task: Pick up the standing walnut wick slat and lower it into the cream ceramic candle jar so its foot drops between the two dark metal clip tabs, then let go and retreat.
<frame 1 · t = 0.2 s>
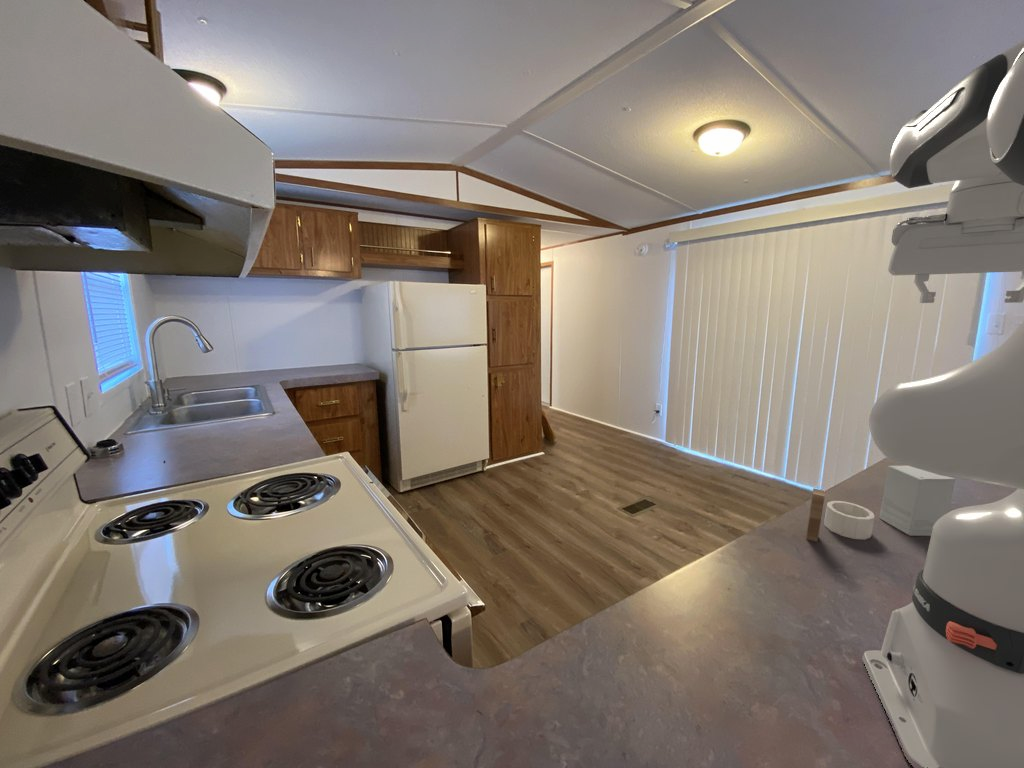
hand: (968, 302, 64), 47 cm above the countertop, fingers open, 8 cm apart
jar: (846, 529, 86), on the countertop
supplement box: (909, 527, 87), on the countertop
wick: (811, 537, 83), on the countertop
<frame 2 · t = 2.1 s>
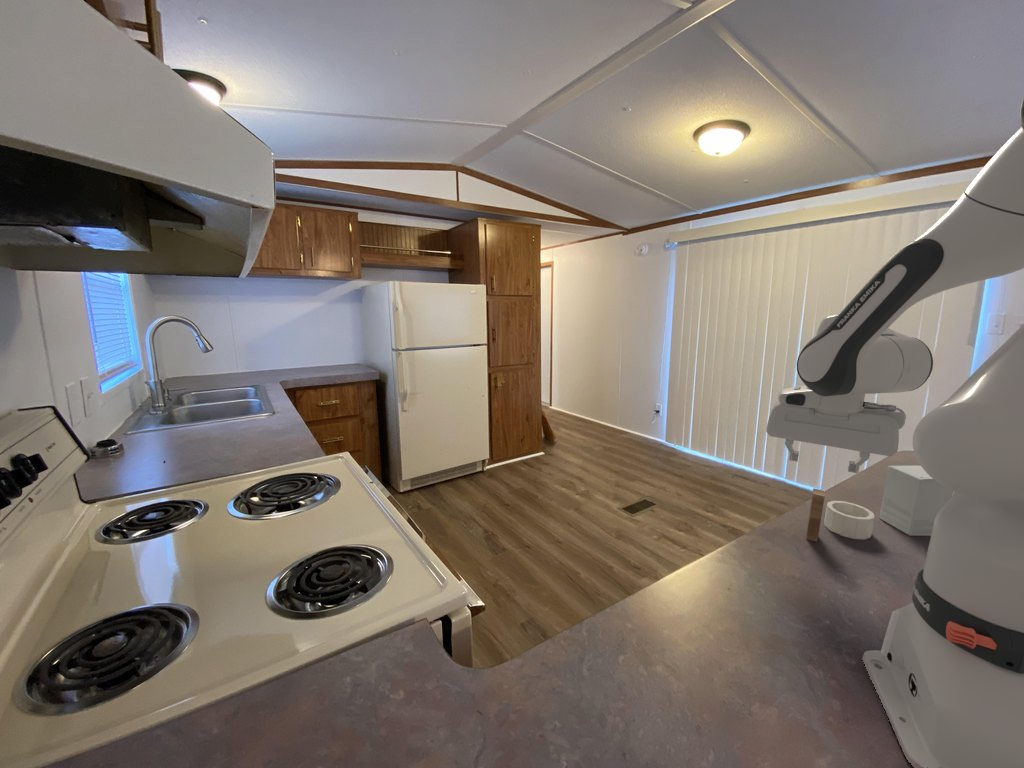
hand: (822, 465, 80), 16 cm above the countertop, fingers open, 8 cm apart
nothing on the countertop moved.
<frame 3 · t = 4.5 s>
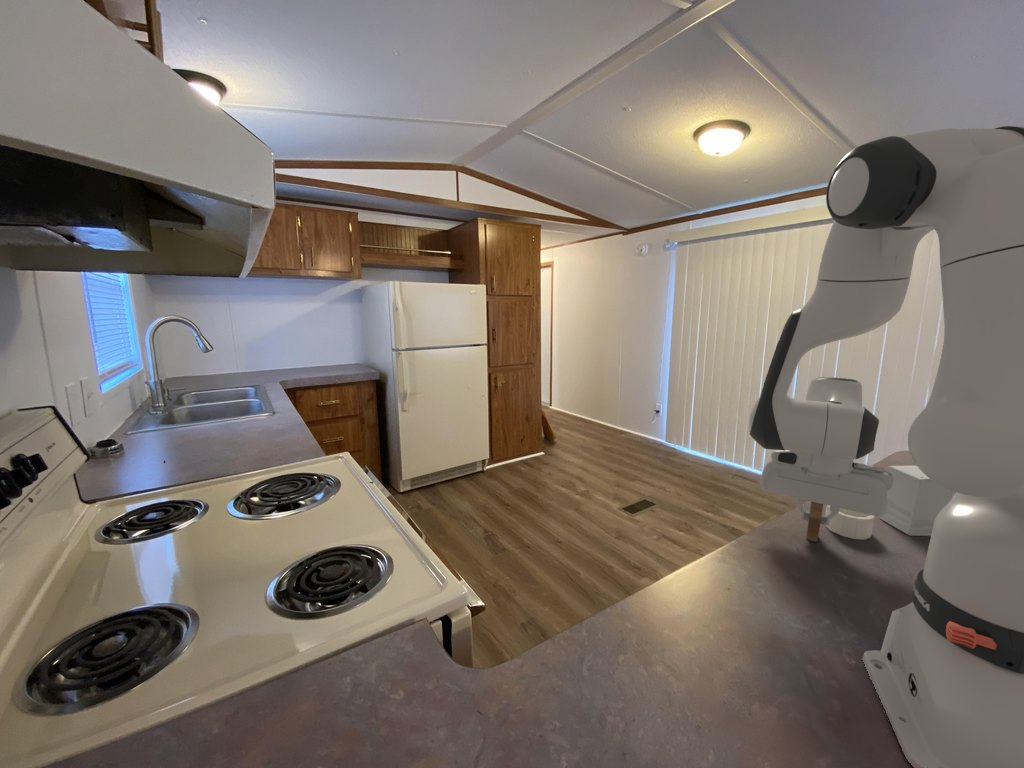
hand: (814, 521, 83), 4 cm above the countertop, fingers closed on wick, 2 cm apart
wick: (811, 537, 83), on the countertop, touching gripper
everything else where it was.
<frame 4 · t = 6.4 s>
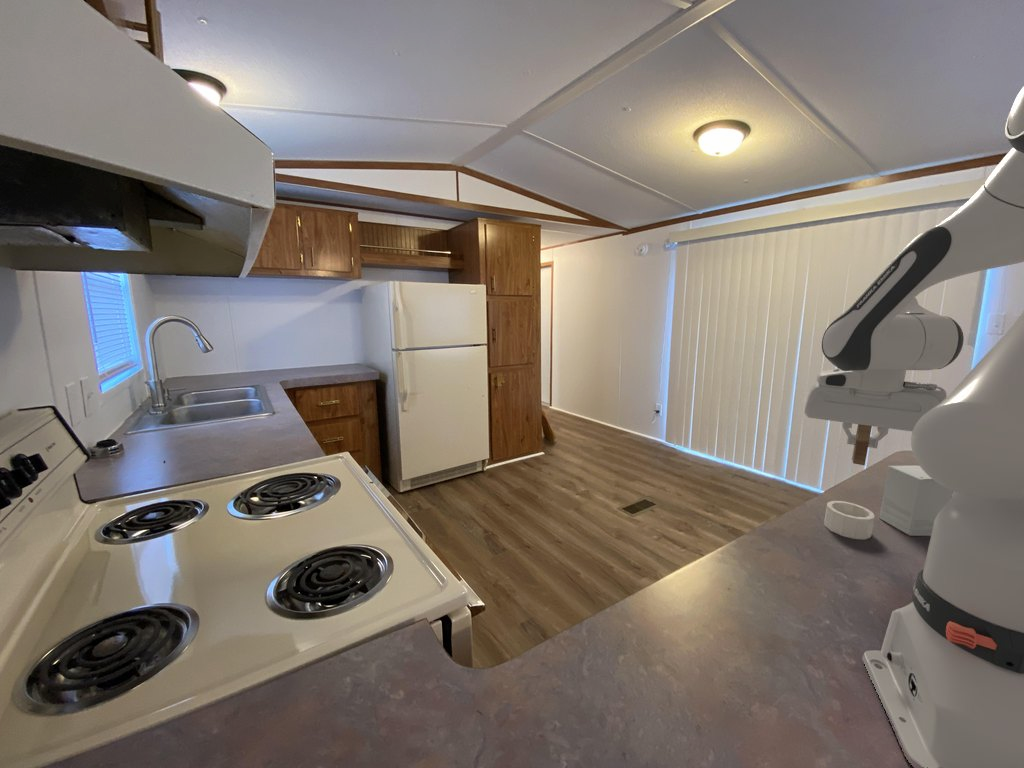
hand: (861, 445, 82), 19 cm above the countertop, fingers closed on wick
wick: (858, 462, 83), point 15 cm above the countertop, touching gripper
everything else where it was.
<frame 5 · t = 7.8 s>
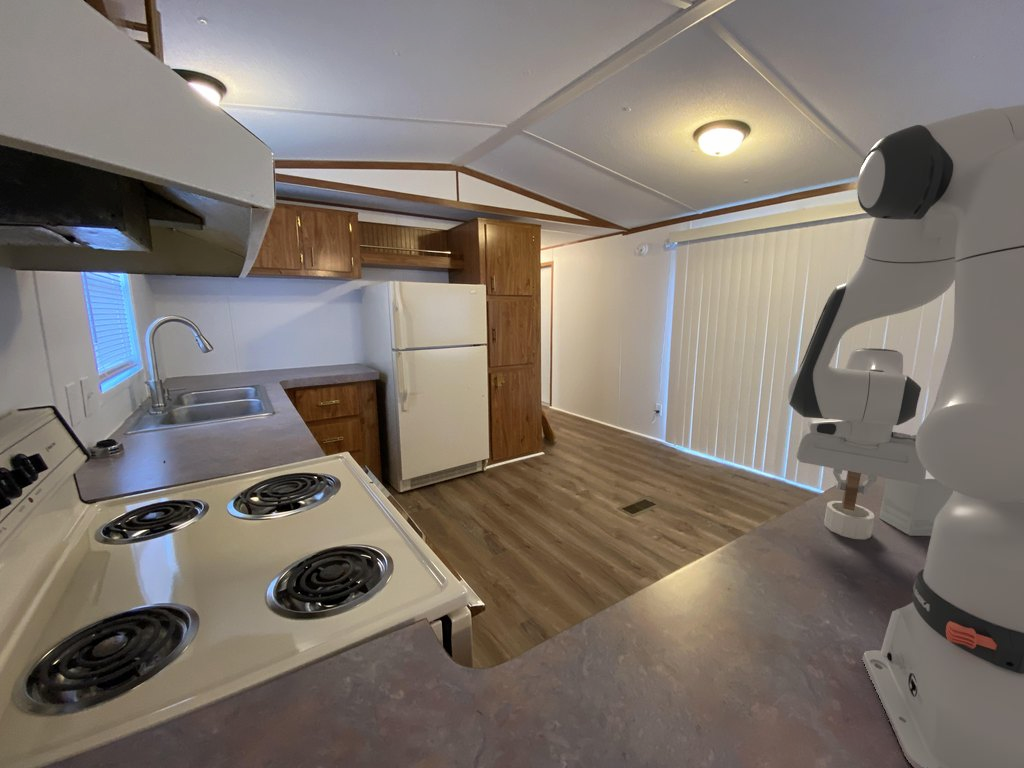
hand: (850, 490, 85), 9 cm above the countertop, fingers closed on wick
wick: (847, 506, 85), point 5 cm above the countertop, touching gripper
everything else where it was.
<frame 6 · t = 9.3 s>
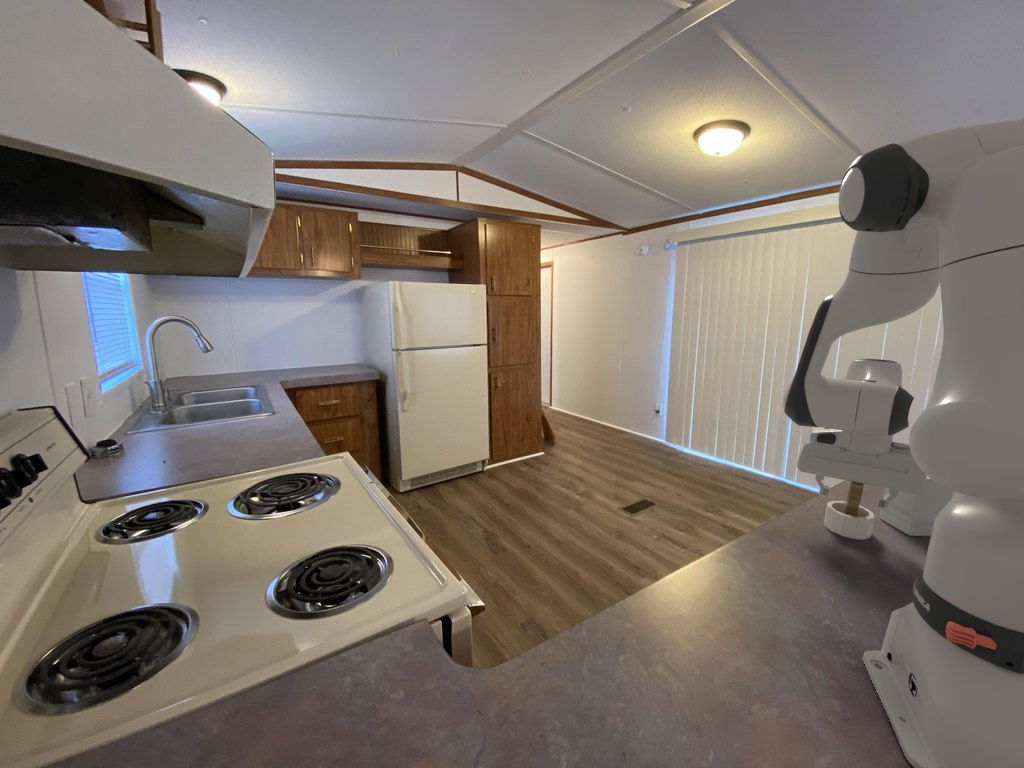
hand: (851, 500, 85), 7 cm above the countertop, fingers open, 8 cm apart
wick: (847, 524, 86), point 1 cm above the countertop, touching jar
everything else where it was.
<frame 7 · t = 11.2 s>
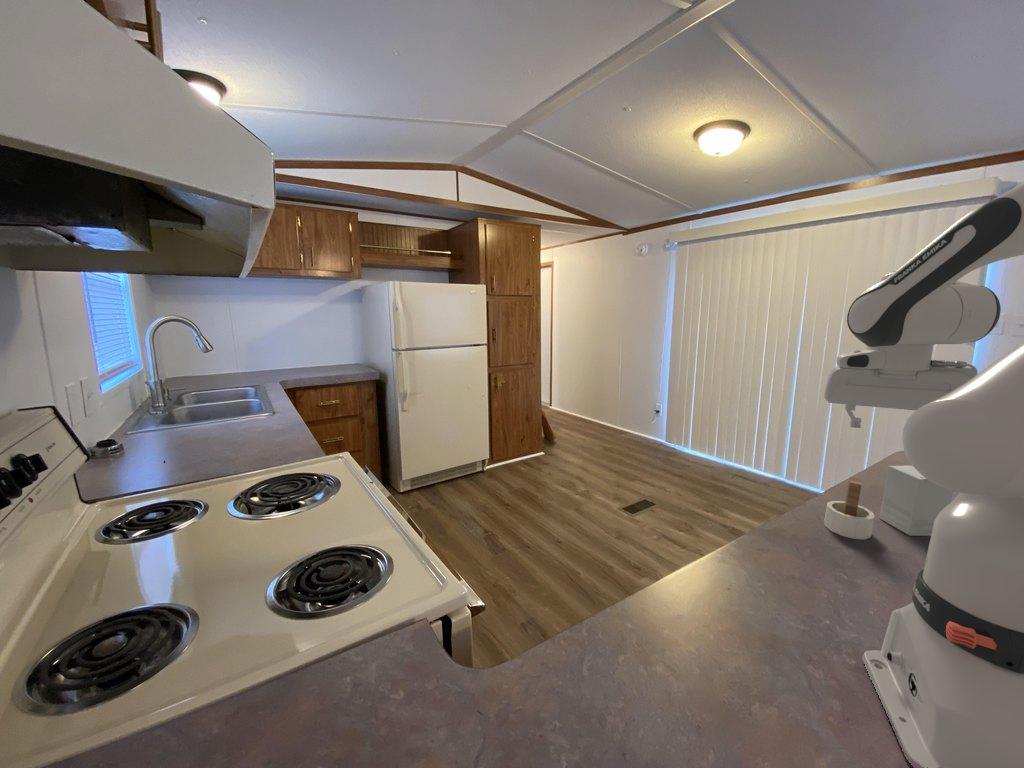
hand: (887, 430, 78), 23 cm above the countertop, fingers open, 8 cm apart
nothing on the countertop moved.
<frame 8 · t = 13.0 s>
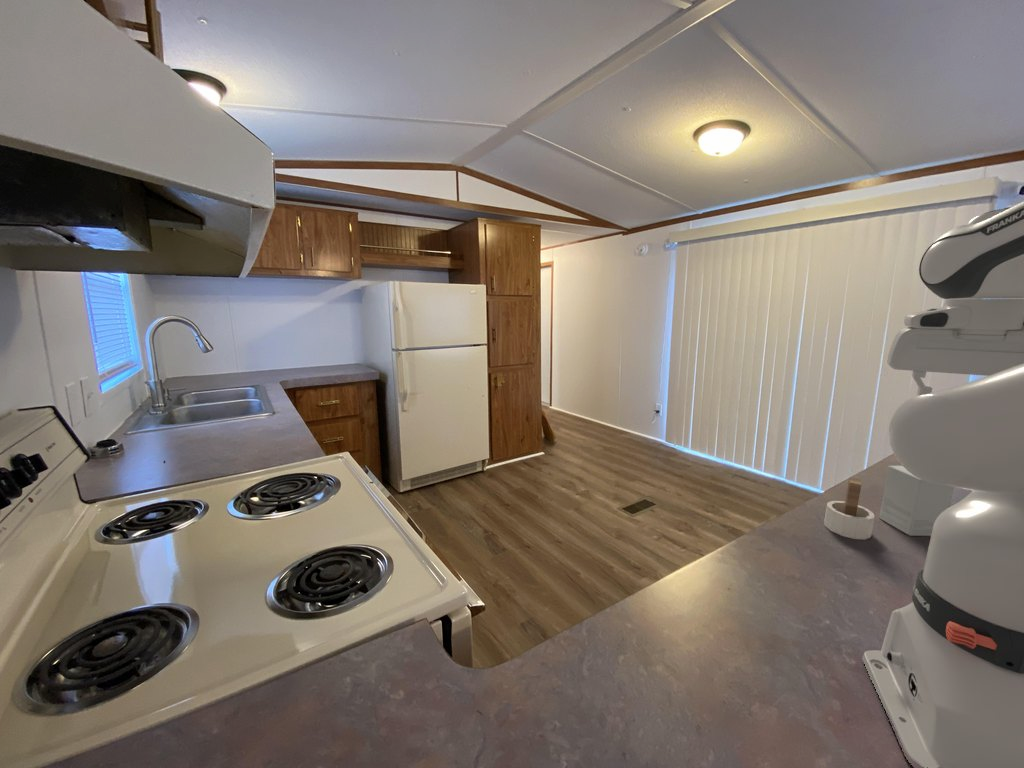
hand: (962, 400, 68), 31 cm above the countertop, fingers open, 8 cm apart
nothing on the countertop moved.
at the end: wick 0.0 cm off-centre on the jar, point 1.0 cm above the jar's base; wick tilted 0°; the gripper is holding nothing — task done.
